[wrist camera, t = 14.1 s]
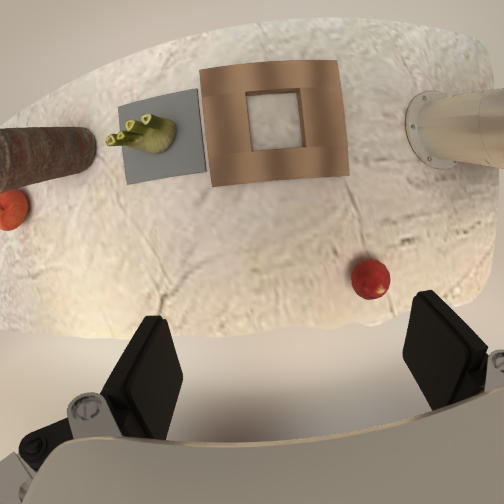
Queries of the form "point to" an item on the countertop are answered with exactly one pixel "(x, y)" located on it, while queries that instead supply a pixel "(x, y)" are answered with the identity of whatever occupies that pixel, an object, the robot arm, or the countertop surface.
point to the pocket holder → (237, 125)
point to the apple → (12, 209)
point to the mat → (182, 148)
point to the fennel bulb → (145, 134)
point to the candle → (42, 154)
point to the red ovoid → (370, 279)
